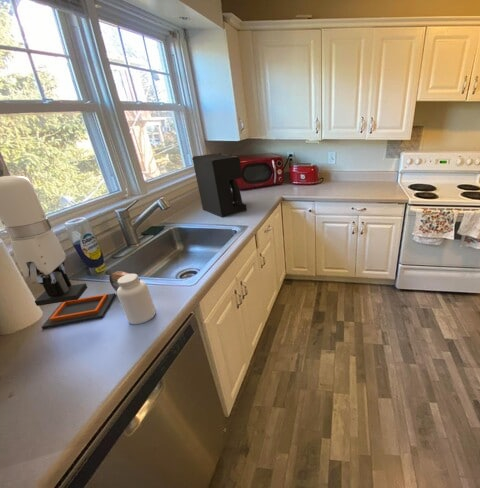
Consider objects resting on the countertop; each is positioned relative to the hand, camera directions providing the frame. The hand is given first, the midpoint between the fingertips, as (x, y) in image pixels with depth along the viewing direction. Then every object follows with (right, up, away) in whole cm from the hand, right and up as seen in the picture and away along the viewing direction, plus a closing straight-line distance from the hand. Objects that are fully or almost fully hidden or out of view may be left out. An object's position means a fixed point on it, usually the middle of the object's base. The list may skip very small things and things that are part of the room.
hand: (60, 290), depth 76 cm
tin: (0, -6, +27) cm, 28 cm away
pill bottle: (+12, -11, +16) cm, 23 cm away
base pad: (-10, -10, +18) cm, 23 cm away
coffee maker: (+6, +35, +112) cm, 117 cm away
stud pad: (0, -2, +1) cm, 2 cm away
